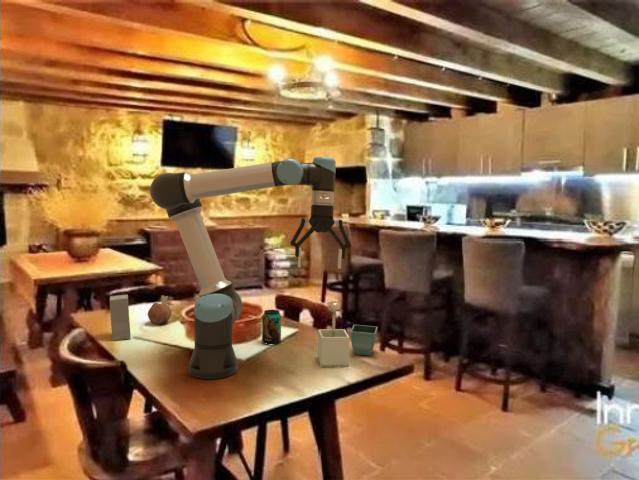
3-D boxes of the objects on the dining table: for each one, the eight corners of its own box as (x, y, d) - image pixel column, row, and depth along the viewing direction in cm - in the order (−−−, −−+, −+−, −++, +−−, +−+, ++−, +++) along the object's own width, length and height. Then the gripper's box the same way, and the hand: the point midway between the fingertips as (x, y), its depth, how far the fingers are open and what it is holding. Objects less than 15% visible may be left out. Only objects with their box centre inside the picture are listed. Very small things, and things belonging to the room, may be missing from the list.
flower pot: (374, 358, 166) (375, 333, 165) (349, 356, 168) (350, 331, 167) (376, 350, 175) (377, 326, 174) (352, 348, 176) (353, 324, 175)
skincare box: (130, 339, 179) (129, 298, 178) (109, 341, 177) (108, 299, 175) (130, 333, 187) (129, 293, 186) (110, 334, 185) (109, 294, 183)
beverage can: (258, 344, 178) (259, 312, 177) (266, 338, 185) (267, 308, 184) (276, 346, 176) (276, 314, 175) (283, 340, 183) (284, 310, 181)
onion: (151, 330, 202) (141, 308, 202) (171, 321, 207) (161, 300, 207) (157, 327, 194) (147, 305, 194) (178, 318, 200) (168, 296, 200)
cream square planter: (320, 367, 156) (321, 337, 155) (317, 357, 165) (318, 329, 164) (348, 366, 157) (349, 337, 156) (343, 357, 166) (344, 329, 165)
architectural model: (168, 309, 226) (168, 294, 226) (175, 312, 221) (174, 296, 221) (161, 310, 224) (161, 295, 223) (168, 313, 219) (167, 297, 218)
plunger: (324, 360, 157) (325, 305, 156) (321, 353, 164) (323, 300, 162) (344, 359, 158) (345, 305, 156) (340, 352, 165) (342, 300, 163)
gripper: (285, 203, 154) (282, 268, 156) (361, 206, 156) (357, 270, 159) (284, 202, 161) (281, 264, 163) (357, 205, 164) (353, 266, 166)
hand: (319, 267), depth 161 cm, fingers open, 13 cm apart
